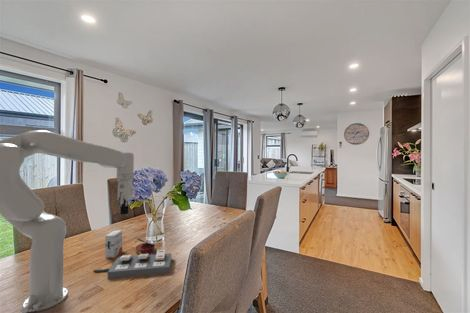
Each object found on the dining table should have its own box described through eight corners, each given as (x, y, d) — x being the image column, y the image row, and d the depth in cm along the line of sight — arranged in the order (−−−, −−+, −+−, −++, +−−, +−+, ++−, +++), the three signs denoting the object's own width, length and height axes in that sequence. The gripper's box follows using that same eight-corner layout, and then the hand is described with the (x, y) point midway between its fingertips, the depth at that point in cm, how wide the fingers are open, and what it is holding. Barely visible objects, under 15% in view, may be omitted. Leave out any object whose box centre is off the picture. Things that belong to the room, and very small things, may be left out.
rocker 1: (128, 260, 102) (128, 257, 102) (119, 260, 101) (119, 257, 102) (131, 257, 108) (131, 254, 108) (122, 257, 107) (123, 254, 107)
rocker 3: (164, 259, 106) (164, 257, 106) (155, 260, 105) (155, 258, 105) (165, 251, 112) (165, 249, 111) (157, 252, 111) (157, 250, 110)
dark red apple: (137, 258, 124) (136, 240, 128) (155, 254, 127) (154, 236, 131) (134, 257, 114) (133, 237, 118) (155, 252, 118) (153, 233, 122)
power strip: (169, 273, 100) (169, 266, 100) (87, 280, 93) (87, 273, 93) (171, 258, 114) (171, 252, 114) (99, 264, 107) (100, 257, 107)
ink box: (113, 250, 122) (114, 229, 122) (122, 250, 122) (122, 230, 122) (104, 257, 114) (104, 235, 114) (113, 258, 114) (114, 235, 114)
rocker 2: (146, 258, 104) (146, 255, 104) (137, 259, 103) (137, 256, 103) (148, 256, 110) (148, 253, 110) (140, 256, 109) (140, 253, 109)
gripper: (129, 178, 101) (128, 217, 102) (136, 175, 116) (135, 209, 116) (111, 178, 100) (111, 218, 100) (121, 175, 114) (120, 210, 115)
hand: (124, 213), depth 108 cm, fingers closed
